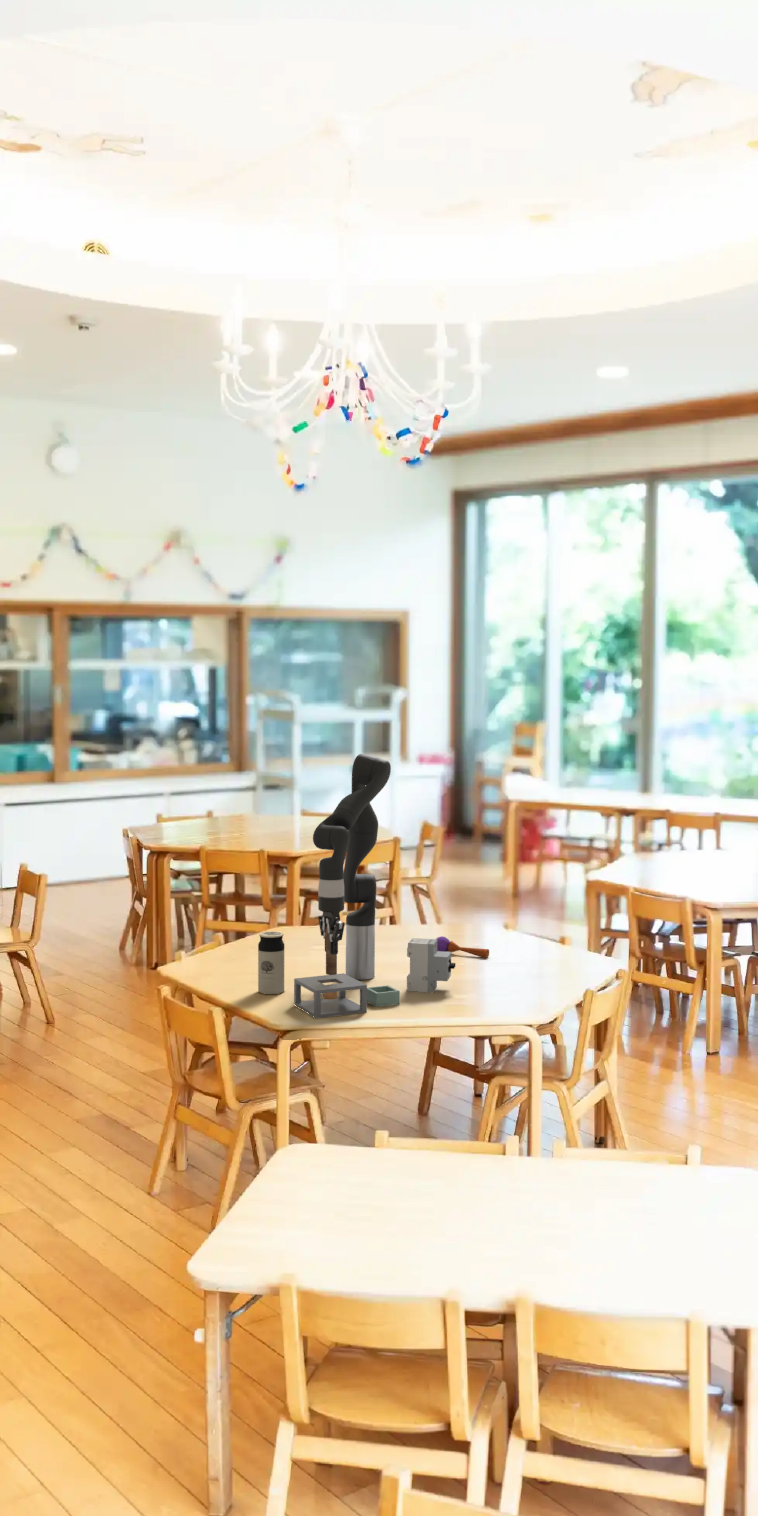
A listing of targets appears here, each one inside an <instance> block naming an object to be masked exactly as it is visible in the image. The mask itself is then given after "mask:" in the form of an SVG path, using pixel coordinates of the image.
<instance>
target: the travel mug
mask: <svg viewBox="0 0 758 1516" xmlns="http://www.w3.org/2000/svg"><path fill="white" fill-rule="evenodd" d="M284 934H285V933H283V932H282V931H274V930H272V931H269V930H268V931H262V932H260V933H258V935H259V939H260V941H259V942H258V943H257V946H258V948H257V949H258V951H257V952H258V953H257V957H258V958H257V959H258V961H257V965H258V967H257V968H258V969H257V970H258V972H257V973H258V974H257V975H258V976H257V979H258V981H257V982H258V983H257V984H258V985H257V990H258V991H257V992H259V993H260V992H261V993H260V994H262V993H265V994H264V995H270V994H273V995H279V994H278V993H280V994H282V993H284V992H285V942H284V940H283V938H284V937H283V936H284Z"/></svg>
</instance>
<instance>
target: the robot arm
mask: <svg viewBox="0 0 758 1516" xmlns="http://www.w3.org/2000/svg"><path fill="white" fill-rule="evenodd" d="M391 767H392V766H391V763H390V762H389V760H387V759H385V758H381V757H377V756H373V755H369V754H366V753H360V754H357V755H356V757H355V759H354V761H353V764H352V770H351V793H349V794H348V795H346V796H345V797H343V798H342V799H341V800H340V802H339V803H338V804H337V806H336V807H335V808H334V810H333V812H332V813H331V814H330V815H328V816H327V817H326V818H325V819H324V820H323V821H321V822H320V823H319V824H318V825H317V827H316V828H315V829H314V831H313V834H312V842H313V844H314V846H315V847H316V848H318V850H329V851H333V853H332V856H330V857H324V858H322V859H321V860H320V861H319V863H318V864H319V866H318V869H319V870H318V874H319V875H318V876H319V877H318V878H319V879H318V887H317V888H318V889H317V890H318V896H317V897H318V899H317V900H318V901H317V902H318V903H317V905H318V911H320V912H322V914H321V915H318V916H317V919H318V925H319V931H320V936H321V937H323V940H324V952H325V953H326V926H327V928H328V934H330V954H332V955H335V954H337V955H338V953H339V942H340V941H342V939H343V936H344V935H343V934H344V930H345V974H346V975H348V976H350V977H352V978H354V979H356V980H358V981H360V980H361V981H363V980H366V981H367V980H371V979H373V978H375V977H376V976H375V969H376V967H375V965H376V963H375V961H376V960H375V959H376V958H375V957H376V951H375V950H376V948H375V946H376V924H375V923H376V902H377V880H376V876H375V875H374V874H372V873H357V872H358V868H359V866H360V865H361V863H362V862H363V861H364V860H365V858H366V857H367V856H368V855H369V854H370V852H371V851H372V850H373V848H374V847H375V845H376V843H377V839H378V834H379V833H378V832H379V831H378V830H379V820H378V817H377V814H376V813H375V810H374V809H373V807H372V805H371V802H372V801H373V800H374V799H375V798H376V796H378V794H379V793H380V792H381V791H382V790H383V789H384V787H385V786H386V785H387V784H388V781H389V780H390V777H391V769H392V768H391ZM345 903H347V904H363V905H362V906H361V907H359V908H358V909H356V910H354V911H352V912H350V913H348V914H347V915H346V916H345V922H344V921H341V915H340V913H341V912H343V911H345ZM333 929H334V931H331V930H333Z"/></svg>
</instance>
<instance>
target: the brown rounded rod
mask: <svg viewBox="0 0 758 1516" xmlns="http://www.w3.org/2000/svg"><path fill="white" fill-rule="evenodd" d="M331 931H334V929H333V930H331ZM335 974H338V954H335V955H332V954H330V934H328V928H327V926H326V952H325V975H335Z"/></svg>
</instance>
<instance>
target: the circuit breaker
mask: <svg viewBox="0 0 758 1516" xmlns="http://www.w3.org/2000/svg"><path fill="white" fill-rule="evenodd" d="M406 957H408V958H409V973H408V975H406V992H413V991H418V992H419V993H431V992H433V993H434V992H435V990H436V988H437V986H438V982H448V981H449V979H450V978H451V976H452V970H454V969H455V968H456V962H452V952H443V951H437V938H414V937H412V938H411V939H410V940H409V941H408V942H407V948H406ZM418 992H417V993H418Z"/></svg>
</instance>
